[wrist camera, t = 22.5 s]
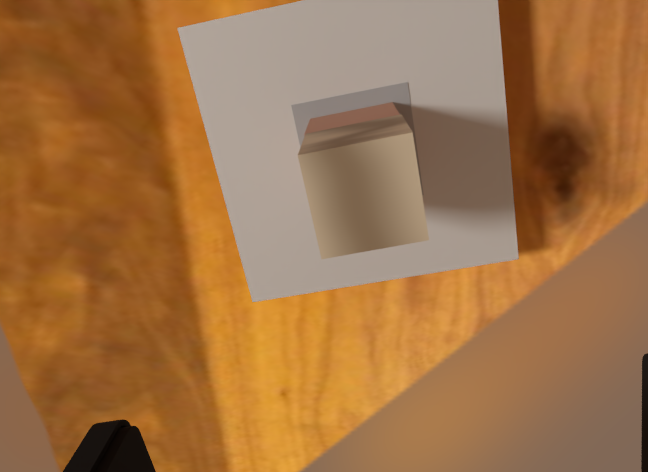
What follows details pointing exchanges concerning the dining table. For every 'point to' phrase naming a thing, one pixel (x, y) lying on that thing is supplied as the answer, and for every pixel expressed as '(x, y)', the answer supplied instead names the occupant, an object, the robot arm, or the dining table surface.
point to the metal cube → (363, 186)
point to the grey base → (345, 95)
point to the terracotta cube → (351, 117)
